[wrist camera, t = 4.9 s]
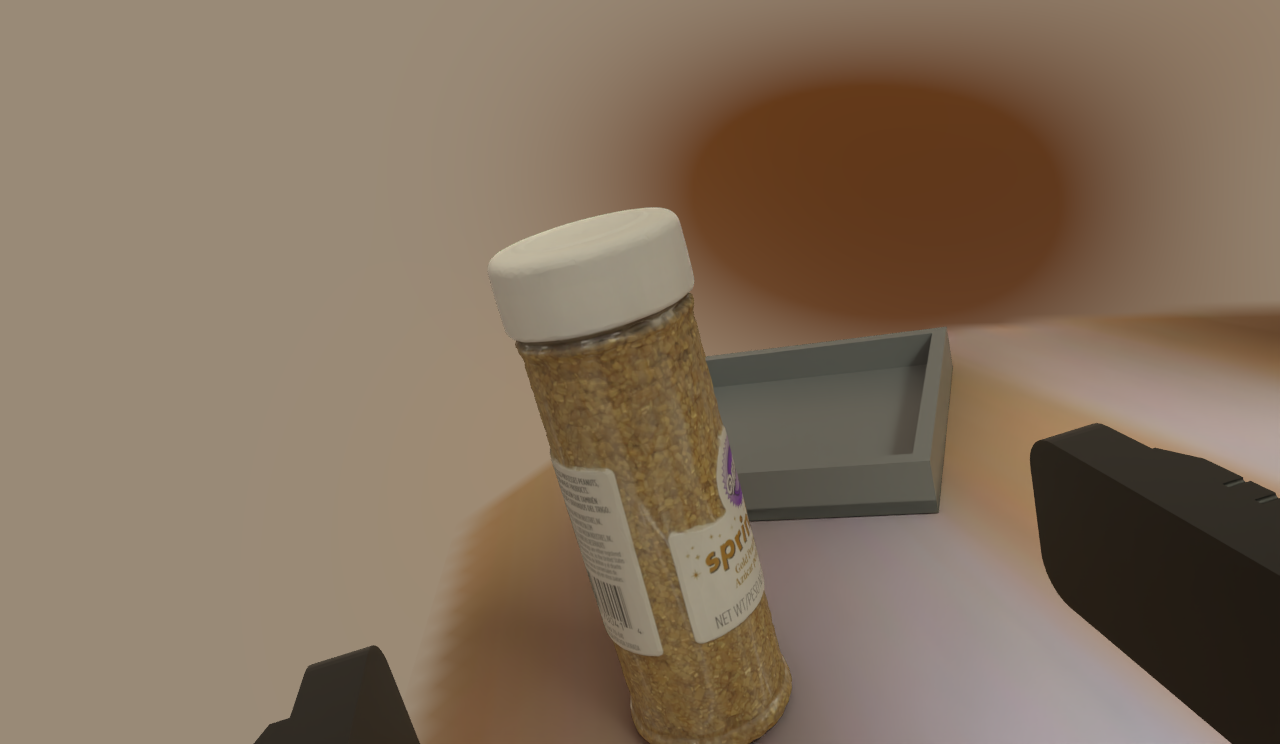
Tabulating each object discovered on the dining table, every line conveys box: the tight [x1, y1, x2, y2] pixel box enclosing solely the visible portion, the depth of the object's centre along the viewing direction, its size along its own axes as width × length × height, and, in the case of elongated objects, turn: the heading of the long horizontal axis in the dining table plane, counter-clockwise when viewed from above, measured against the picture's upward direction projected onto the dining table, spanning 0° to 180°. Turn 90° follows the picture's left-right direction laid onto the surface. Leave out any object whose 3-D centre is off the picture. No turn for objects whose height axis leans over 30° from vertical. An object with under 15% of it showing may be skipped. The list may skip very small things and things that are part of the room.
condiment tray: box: [705, 327, 953, 521], centre depth 38 cm, size 13×13×2 cm
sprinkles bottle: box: [488, 208, 792, 744], centre depth 23 cm, size 5×5×13 cm
